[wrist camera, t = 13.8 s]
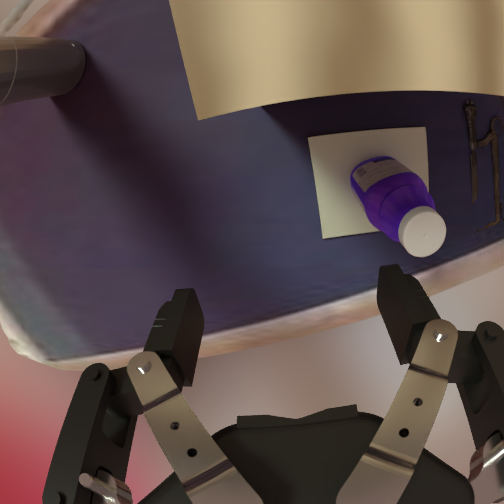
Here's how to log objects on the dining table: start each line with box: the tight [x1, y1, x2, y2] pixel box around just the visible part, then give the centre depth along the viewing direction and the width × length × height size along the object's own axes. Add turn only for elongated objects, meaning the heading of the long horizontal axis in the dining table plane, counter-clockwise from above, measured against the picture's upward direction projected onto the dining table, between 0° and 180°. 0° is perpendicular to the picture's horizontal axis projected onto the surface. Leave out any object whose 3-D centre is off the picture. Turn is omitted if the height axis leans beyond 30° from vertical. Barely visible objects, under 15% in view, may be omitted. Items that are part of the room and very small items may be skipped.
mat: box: [308, 127, 429, 238], centre depth 36 cm, size 16×14×1 cm
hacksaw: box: [463, 100, 504, 234], centre depth 32 cm, size 24×10×2 cm, turn 17°
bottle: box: [350, 156, 446, 257], centre depth 28 cm, size 7×6×17 cm
